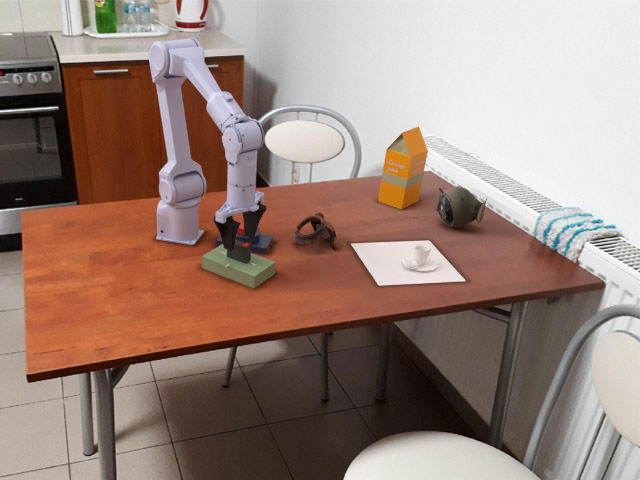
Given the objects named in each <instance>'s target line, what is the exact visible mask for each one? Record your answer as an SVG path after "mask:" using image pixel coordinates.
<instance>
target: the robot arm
mask: <svg viewBox="0 0 640 480" xmlns="http://www.w3.org/2000/svg"><path fill="white" fill-rule="evenodd" d="M149 49H150V50H149V52H148V54H147V55H148V61H149V68H150V74H151V79H152V83H153V84H155V87H156V93H157V99H158V100H157V101H158V106H159V112H160V118H161V119H160V120H161V125H162V131H163V138H164V143H165V151H166V156H167V161H166V164H164V166H163V167H162V168H161V169H160V170H159V172H158V178H159V184H158V193H159V196H160V198H161V199H160V200H159V202H158V204H157V208H156V230H157V231H156V233H157V235H156V237H155V239H156V240H157V241H162V242H170V243H175V244H181V245H188V246H195V245H196V243H197V242H198V241H199V240H200V238H201V237H202V235H203V234H204V233H205V230H204V229H199V227H200V226H199V224H200V223H199V221H200V220H199V219H200V218H199V217H200V215H199V208H200V207H199V206H200V205H199V203H200V202H202V198H203V197H204V196H205V194H207V193H206V192H207V187H208V186H207V180H206V178H205V175H204V173H203V170H202V165H200V164H199V163H198V162H196V161H195V160H193V158H192V154H191V147H190V140H189V134H188V133H189V132H188V128H187V121H186V114H185V105H184V100H183V94H182V93H183V92H182V86H183V84H184V83H185V81H186V79H188V80H189V81H190V83H191V84H192V85H193V86H194V88H195V89H196V90H197V91H198V93H200V95H201V96H202V97H203V98H204V99H205V100H206V102H207V103H206V112H207V114H208V115H209V116H210V118H211V119H212V121H213V122H214V124H215V125H216V127H217V128H218V129H219V131H220V132H221V134H222V135H221V142H222V145H223V148H224V151H225V159H226V162H227V178H226V179H227V186H226V192H227V193H226V201H225V202H224V203H223V205H221V207H220V208H219V209H218V210H217V211H215V215H214V216H213V223H214V224H215V226H216V229H217V231H218V232H219V236H220V235H221V238H222V242H223V246H224V248H225V249H227V250H230V251H232V250H234V246H235V239H236V234H237V230H238V228H239V226H240V224H241V222H239V221H237V220H235V218H234V217H235V216H236V215H238V214H242V218H243V222H244V233H245V236H247V237H250V238H254V237H255V234H256V231H257V228H259V224H260V222H261V220H262V218H263V216H264V214H265V212H266V211H267V205H265V204H262V203H264V202H265V192H261V191H258V190H256V185H257V166H258V165H257V164H258V150H259V149H261V148H262V147H263V145H264V143H265V132H264V128H263V126H262V125H261V122H260V121H259V120H257V119H255V118H251V116H249V115H246V114H245V112H244V111H243V110H242V108H241V106H240V105H239V103H237V101H236V100H235V98H234V96H233V95H232V93H230V92H228V91H222V90H221V88H220V86H219V84H218V83H217V81H216V79H215V77H214V76H213V74H212V73H211V70H210V69H209V67H208V66H207V64H206V62H205V49H204V48H203V47H202V45H201V43H200V42H199V40H198V39H197V38H195V37H188V38H184V39H183V38H182V39H171V40H155V41H154V42H153V43H152V45H151V47H150V48H149Z"/></svg>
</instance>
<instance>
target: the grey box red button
mask: <svg viewBox="0 0 640 480" xmlns="http://www.w3.org/2000/svg"><path fill="white" fill-rule="evenodd" d="M236 240H238V241H241V242H244V243H249V244H250V245H251V253H252V254H260V255H265V256H266V255H267V254H268V252H269V251H270V248H271V247H272V244H273V243H274V235H272V234H264V233H262V231H261V229H260V228H259V227H257V231H256V234H255V237H254V238H250V237H247V236H245V235H240V234H238V233H237V234H236ZM215 244H216V247H215V248H217V247H219V246H220V245H222V244H223V242H222V238H221V235H220V234H219V236H218V237H217V238H216V243H215Z"/></svg>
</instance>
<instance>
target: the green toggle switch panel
mask: <svg viewBox="0 0 640 480" xmlns="http://www.w3.org/2000/svg"><path fill="white" fill-rule="evenodd" d="M276 264H277V262H276V261H274V260H271V259H268V258H265V257H262V256H260V255H257V254H256V253H253V252H251V259H250V261H249V262H248V263H246V264H245V263H242V262H240V261H237V260H234V259H232V258H229V257H227V249H225V248H224V246H223V244H222V245H220V246H219V247H215V248H213V249H211V250H210V251H208V252H206V253H205V254H203V255H202V256H201V268H202V269H203V270H206V271H209V272H211V273H214V274H216V275H219V276H221V277H224V278H226V279H228V280H232V281H234V282H237V283H239V284H242V285H243V286H248V287H250V288H252V289H256V288H257V287H259V286H260V285H261V284H263V283H265V281H268V279H270V278H271V277H273V276H274V275H275V274H276Z"/></svg>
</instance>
